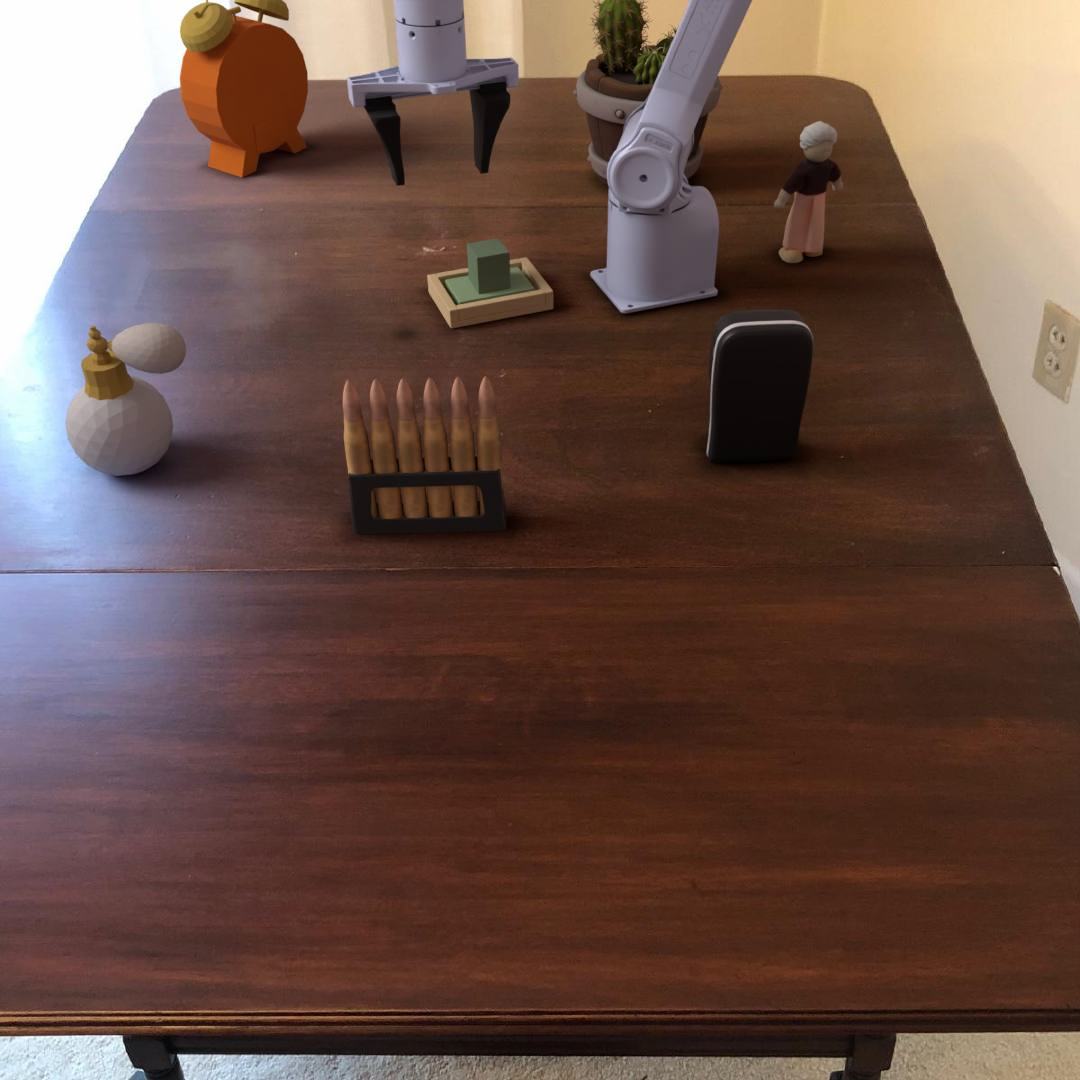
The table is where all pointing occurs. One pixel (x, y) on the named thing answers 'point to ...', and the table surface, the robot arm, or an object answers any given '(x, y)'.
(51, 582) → the table surface
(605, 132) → the flowerpot
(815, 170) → the grandmother figurine
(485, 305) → the socket pad
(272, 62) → the alarm clock
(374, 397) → the ammunition clip
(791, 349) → the battery charger
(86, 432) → the perfume bottle
